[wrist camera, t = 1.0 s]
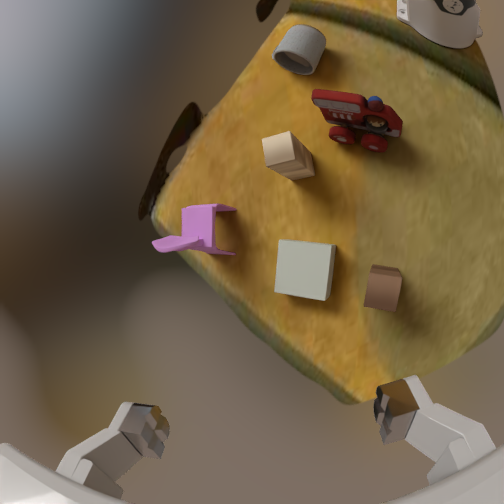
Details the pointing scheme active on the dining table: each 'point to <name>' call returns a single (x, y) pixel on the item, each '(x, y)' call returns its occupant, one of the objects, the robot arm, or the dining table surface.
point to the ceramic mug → (300, 49)
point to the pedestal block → (305, 269)
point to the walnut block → (383, 288)
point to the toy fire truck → (358, 118)
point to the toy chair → (195, 230)
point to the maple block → (288, 156)
